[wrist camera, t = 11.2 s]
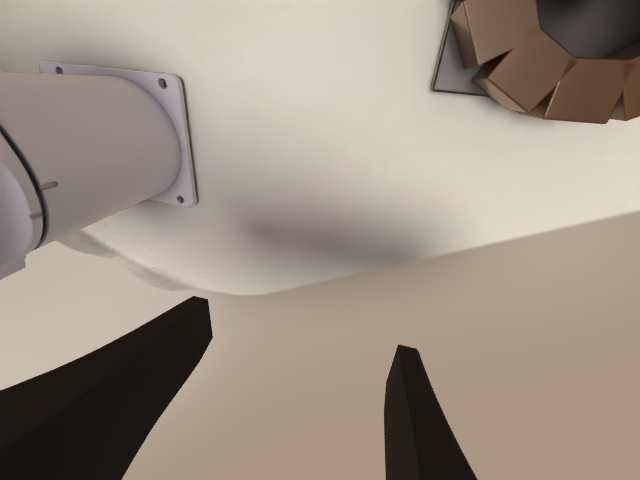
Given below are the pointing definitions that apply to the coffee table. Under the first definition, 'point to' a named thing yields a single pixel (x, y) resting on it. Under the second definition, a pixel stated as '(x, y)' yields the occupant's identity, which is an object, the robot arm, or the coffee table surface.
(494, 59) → the ring
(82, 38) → the coffee table surface
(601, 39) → the rack
